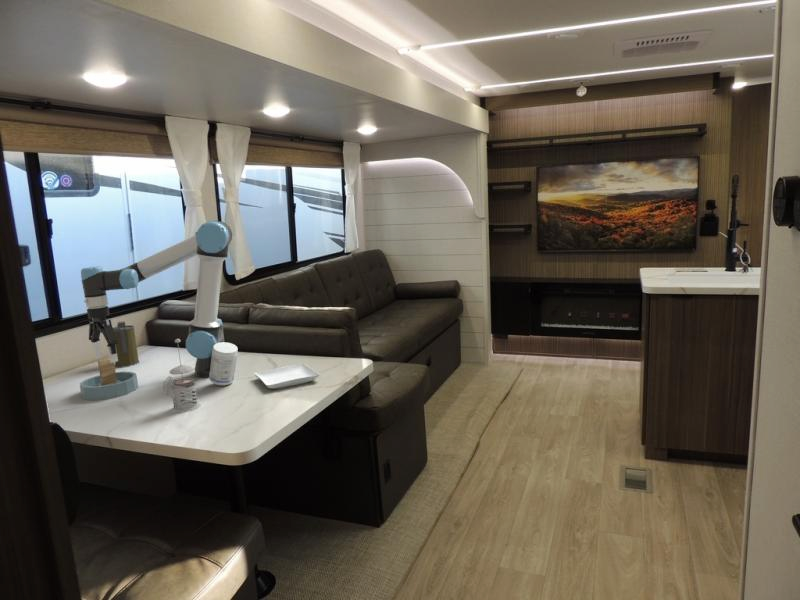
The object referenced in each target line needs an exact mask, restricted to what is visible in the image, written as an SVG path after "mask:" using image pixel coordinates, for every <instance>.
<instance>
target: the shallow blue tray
mask: <svg viewBox="0 0 800 600" xmlns="http://www.w3.org/2000/svg"><path fill="white" fill-rule="evenodd" d="M115 372H116V378H117V382H115V383H111V384H107V385H104V386H103V385H101V378H100V374H98V375H94V376H91V377H88V378H86V379H84V380H82V381H80V382H79V389H80V394H81V399H83V398H84V399H83V400H87V401H100V400H101V401H102V400H108V399H115V398H118V397H121V396H122V397H123V396H126V395H129V394H130V393H133V392H134V391H136V390H137V389H138V388H139V382H138V377H137V374H136V372H133V371H115Z"/></svg>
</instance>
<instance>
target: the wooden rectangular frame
mask: <svg viewBox="0 0 800 600" xmlns="http://www.w3.org/2000/svg"><path fill="white" fill-rule="evenodd" d="M97 365H98V371H99V375H100V378H101V385H103V386H104V385H107V384H111V383H115V382H117V378H116V372H117V371H116V366H115V362H113V363H110V358H109V357H108V358H104V359H101V360H97Z"/></svg>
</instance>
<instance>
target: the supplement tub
mask: <svg viewBox="0 0 800 600" xmlns="http://www.w3.org/2000/svg"><path fill="white" fill-rule="evenodd" d="M238 353H239V351H238V346H237V345H236V344H234V343H232V342H225V341H224V342H220V343H216V344H215V345H214V346H213V350H212V358H211V366H210V374H209V377H208V379H209V381H210V382H211V383H212V384H214V385H217V386H228V385H230V384H232V383H233V382H234V380H235V372H236V366H237V359H238Z"/></svg>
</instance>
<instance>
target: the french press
mask: <svg viewBox="0 0 800 600" xmlns="http://www.w3.org/2000/svg"><path fill="white" fill-rule="evenodd" d="M174 343H175V344H176V343H177V344H179V343H181V339H180V338H176V339H175V340H174ZM177 348H178V351H180V346H179V345H177ZM178 355H179V356H178V357H179V359H181V354H180V352H178ZM179 364H180V365H177V366H174V367H173V368H172V369H170V370H169V371H168V372H169V374H170V375H181V378H178V379H176V380H174V378H173V377H172V376H168V377H167V378H165V380H164V382H163V386H162V388H163V392H164V394H165V396H168V397H170V398H172V403H173V407H172V408H171V411H172V413H187V412H192V411H195V410H197V409H199V408H200V407H201V406H202V405H201V403H199V402H198V397H197V390H196V383H195V382H194V378H193V377H192V378H191V377H185V378H184V377H183V374H188V373H190V372H193V371H194V370H195V367H193V366H190V365H187V364H182V361H181V360H179ZM169 380H170V381H171V383H172V386H171V391H172V395H170V394H169V393H168V391H167V384H168V382H169Z"/></svg>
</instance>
